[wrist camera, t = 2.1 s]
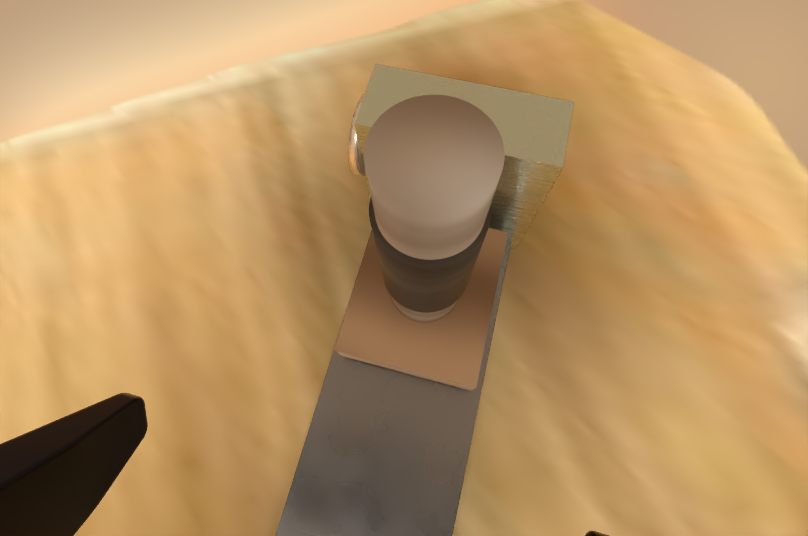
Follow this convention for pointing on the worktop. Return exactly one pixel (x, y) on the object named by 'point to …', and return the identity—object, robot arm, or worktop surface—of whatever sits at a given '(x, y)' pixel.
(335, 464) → the rail
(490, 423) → the worktop surface
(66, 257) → the worktop surface
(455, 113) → the carriage
